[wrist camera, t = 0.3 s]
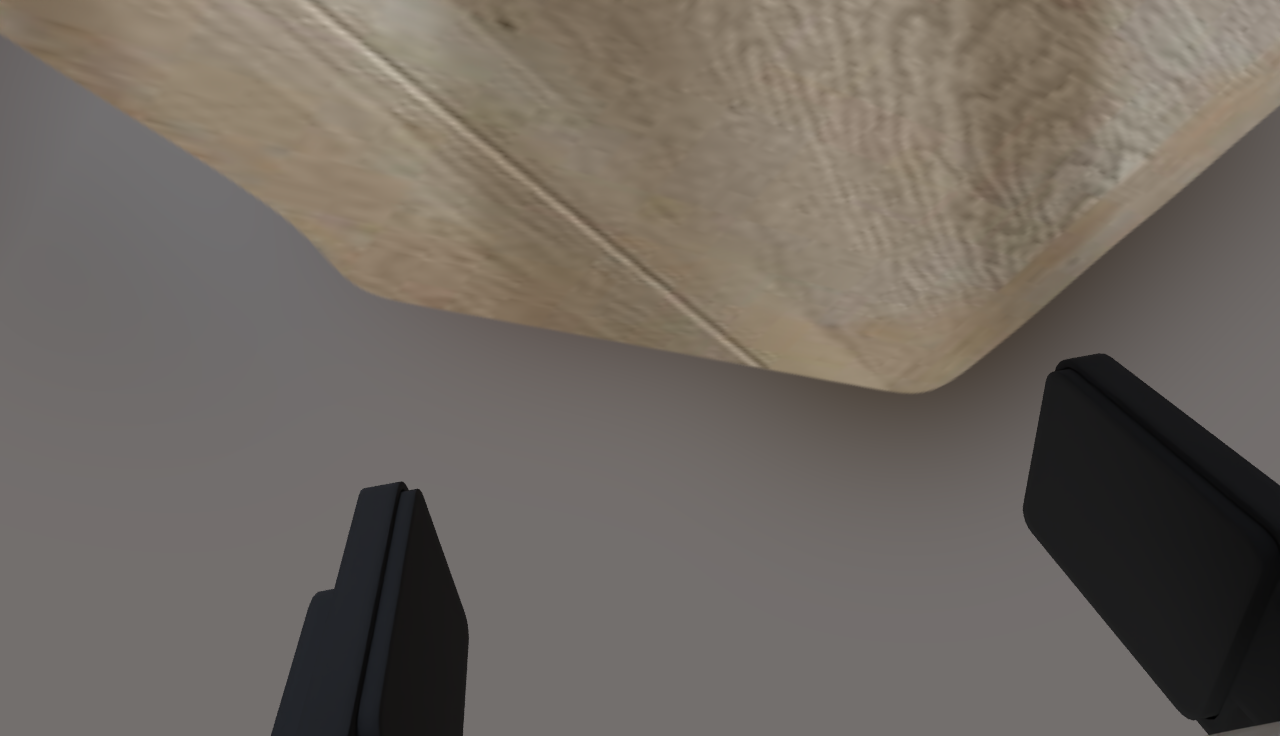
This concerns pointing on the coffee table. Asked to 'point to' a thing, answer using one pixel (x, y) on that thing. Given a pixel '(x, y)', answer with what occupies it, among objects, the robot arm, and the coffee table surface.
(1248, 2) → the coffee table surface
